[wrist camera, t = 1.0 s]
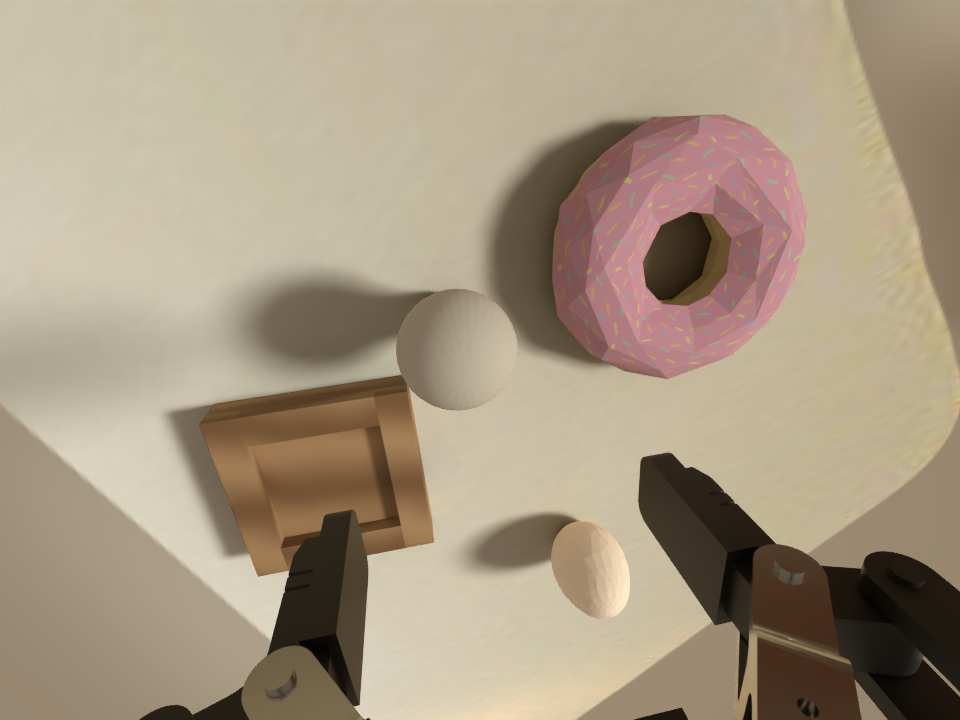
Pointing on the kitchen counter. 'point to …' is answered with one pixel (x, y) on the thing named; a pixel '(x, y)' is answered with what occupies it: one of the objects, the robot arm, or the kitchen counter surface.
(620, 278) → the donut
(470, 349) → the light bulb
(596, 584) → the egg
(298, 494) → the base
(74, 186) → the kitchen counter surface
